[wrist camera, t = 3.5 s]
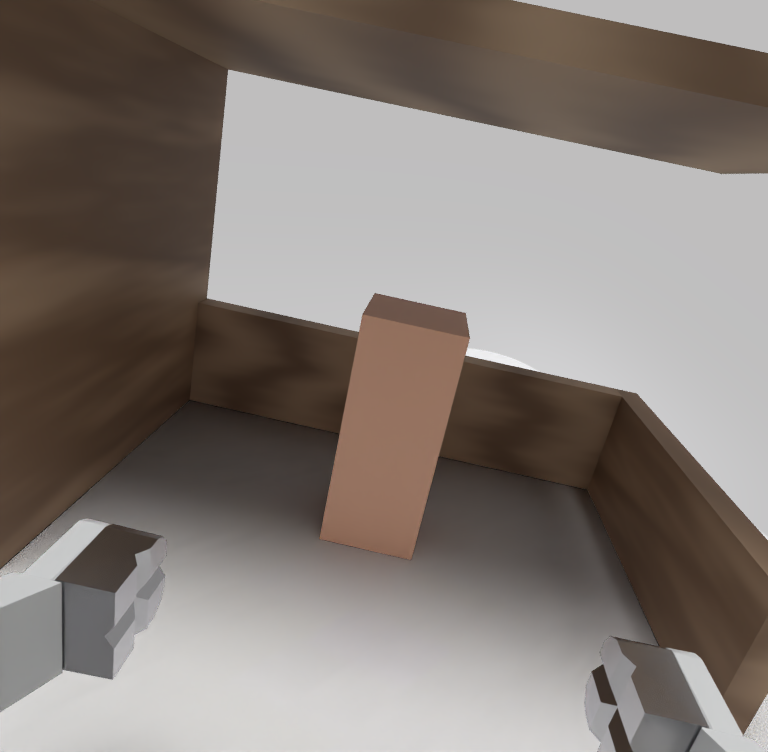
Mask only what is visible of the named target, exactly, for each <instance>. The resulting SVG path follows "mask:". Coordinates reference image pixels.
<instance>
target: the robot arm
mask: <svg viewBox="0 0 768 752" xmlns="http://www.w3.org/2000/svg"><path fill="white" fill-rule="evenodd" d="M166 554H167V540H166V539H165V538H164V537H163V536H159V535H155V534H151V533H147V532H143V531H139V530H135V529H131V528H127V527H123V526H119V525H115V524H109V523H105V522H101V521H97V520H93V519H89V518H85V519H82V520H79V521H78V522H76V523H75V524H74V525H73V526H72V527H71V528H70V529H69V530H68V531H67V532H66V533H65V534H64V535H63V536H62V537H60V538H59V539H58V540H57V541H56V542H55V543H54V544H53V545H52V546H51V547H50V548H49V549H48V550H47V551H45V552H44V553H43V554H42V555H41V556H40V557H39V558H38V559H37V560H36V561H35V562H34V563H33V564H32V565H31V566H29V567H28V568H27V569H26V570H25V571H24V572H23V573H17V572H11V573H9V574H6V575H3V576H0V712H1V711H3V710H4V709H6V708H8V707H9V706H11V705H12V704H14V703H16V702H17V701H19V700H20V699H22V698H23V697H25V696H27V695H28V694H30V693H31V692H33V691H34V690H36V689H38V688H39V687H41V686H42V685H44V684H46V683H47V682H49V681H50V680H52V679H53V678H55V677H57V676H58V675H60V674H61V673H62V670H66V671H71V672H76V673H81V674H86V675H91V676H97V677H102V678H107V679H112V680H113V679H114V677H115V676H116V674H117V673H118V671H119V670H120V668H121V667H122V665H123V663H124V662H125V660H126V659H127V657H128V656H129V654H130V653H131V651H132V650H133V648H134V635H135V634H137V633H139V632H141V631H143V630H145V629H147V627H148V625H149V624H150V622H151V621H152V619H153V617H154V616H155V614H156V611H157V609H158V606H159V604H160V601H161V599H162V594H163V590H164V583H165V575H164V573H163V571H162V570H161V568H160V567H159V565H160V564H161V563H162V561H163V560H164V558H165V557H166ZM600 655H601V659H602V662H603V665H601V666H600V667H598V668H596V669H595V670H593V671H592V672H591V675H590V677H589V680H588V683H587V686H586V694H585V711H586V718H587V722H588V726H589V730H590V731H591V732H592V733H593V734H594V735H595V737H596V738H597V739H598V740H599V741H600V742H601V743H600V746H599V748H598V750H597V752H767V751H766V750H765V749H764V748H763V747H762V746H761V745H759V744H758V743H757V742H756V741H755V740H754V739H751V738H747V737H744V736H743V734H742V732H741V730H740V729H739V727H738V725H737V723H736V721H735V719H734V717H733V716H732V714H731V712H730V710H729V708H728V706H727V705H726V703H725V701H724V699H723V697H722V695H721V694H720V692H719V690H718V688H717V686H716V684H715V682H714V681H713V679H712V677H711V675H710V673H709V671H708V670H707V668H706V666H705V664H704V662H703V660H702V659H701V658H700V657H699V656H698V655H697V654H695V653H692V652H687V651H682V650H677V649H672V648H663V647H659V646H654V645H649V644H645V643H640V642H635V641H631V640H626V639H621V638H617V637H612V636H609V637H608V638H607V639H606V640H605V641H604V643H603V646H602V648H601V650H600Z"/></svg>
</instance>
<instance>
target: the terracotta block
mask: <svg viewBox="0 0 768 752" xmlns="http://www.w3.org/2000/svg"><path fill="white" fill-rule="evenodd" d="M469 339H470V336H469V330H468V324H467V318H466V313H462V312H458V311H454V310H449V309H444V308H440V307H435V306H431V305H426V304H422V303H417V302H412V301H408V300H404V299H399V298H394V297H390V296H385V295H381V294H376V293H375V294H374V295H373V297H372V299H371V301H370V302H369V304H368V306H367V308H366V309H365V311H364V313H363V315H362V320H361V325H360V330H359V336H358V341H357V346H356V351H355V356H354V362H353V367H352V372H351V377H350V382H349V388H348V393H347V398H346V403H345V408H344V414H343V419H342V424H341V429H340V434H339V440H338V445H337V450H336V455H335V460H334V465H333V471H332V476H331V481H330V486H329V491H328V497H327V502H326V507H325V512H324V517H323V523H322V528H321V533H320V538H319V539H322V540H326V541H331V542H335V543H339V544H344V545H348V546H352V547H357V548H361V549H365V550H370V551H374V552H378V553H383V554H387V555H391V556H396V557H400V558H404V559H409V560H411V559H412V555H413V551H414V548H415V544H416V540H417V536H418V532H419V529H420V525H421V521H422V517H423V513H424V510H425V506H426V502H427V498H428V495H429V491H430V487H431V483H432V479H433V476H434V472H435V468H436V464H437V460H438V457H439V453H440V449H441V445H442V442H443V438H444V434H445V430H446V426H447V423H448V419H449V415H450V411H451V407H452V404H453V400H454V396H455V392H456V388H457V385H458V381H459V377H460V373H461V370H462V366H463V362H464V358H465V354H466V351H467V347H468V343H469Z"/></svg>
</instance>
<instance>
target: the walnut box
mask: <svg viewBox="0 0 768 752" xmlns="http://www.w3.org/2000/svg"><path fill="white" fill-rule="evenodd" d="M228 69H229V70H234V71H238V72H243V73H248V74H253V75H257V76H262V77H267V78H271V79H276V80H281V81H285V82H290V83H295V84H300V85H305V86H309V87H314V88H319V89H323V90H328V91H333V92H337V93H343V94H348V95H352V96H357V97H361V98H366V99H371V100H375V101H380V102H385V103H389V104H394V105H399V106H404V107H408V108H413V109H418V110H423V111H427V112H432V113H437V114H442V115H446V116H451V117H456V118H460V119H465V120H470V121H475V122H479V123H484V124H489V125H494V126H498V127H503V128H508V129H513V130H517V131H522V132H527V133H531V134H537V135H541V136H546V137H550V138H555V139H560V140H564V141H569V142H574V143H579V144H583V145H588V146H593V147H598V148H602V149H607V150H612V151H616V152H622V153H626V154H631V155H636V156H641V157H645V158H650V159H654V160H659V161H664V162H669V163H673V164H678V165H683V166H688V167H692V168H697V169H702V170H706V171H711V172H716V173H720V174H735V173H736V174H739V173H741V174H745V173H768V53H764V52H760V51H755V50H750V49H745V48H741V47H736V46H730V45H726V44H721V43H716V42H711V41H707V40H702V39H697V38H692V37H687V36H682V35H677V34H673V33H667V32H663V31H658V30H653V29H648V28H644V27H639V26H634V25H629V24H624V23H619V22H614V21H610V20H605V19H600V18H595V17H590V16H585V15H580V14H575V13H571V12H566V11H561V10H556V9H551V8H547V7H542V6H536V5H532V4H527V3H522V2H517V1H513V0H0V568H1V567H2V566H4V565H5V564H6V563H7V562H8V561H9V560H10V559H11V558H13V557H14V556H15V555H16V554H17V553H18V552H19V551H20V550H22V549H23V548H24V547H25V546H26V545H27V544H28V543H29V542H31V541H32V540H33V539H34V538H35V537H36V536H37V535H38V534H40V533H41V532H42V531H43V530H44V529H45V528H46V527H47V526H49V525H50V524H51V523H52V522H53V521H54V520H55V519H56V518H58V517H59V516H60V515H61V514H62V513H63V512H64V511H65V510H67V509H68V508H69V507H70V506H71V505H72V504H73V503H74V502H76V501H77V500H78V499H79V498H80V497H81V496H82V495H83V494H85V493H86V492H87V491H88V490H89V489H90V488H91V487H92V486H94V485H95V484H96V483H97V482H98V481H99V480H100V479H101V478H103V477H104V476H105V475H106V474H107V473H108V472H109V471H110V470H112V469H113V468H114V467H115V466H116V465H117V464H118V463H119V462H121V461H122V460H123V459H124V458H125V457H126V456H127V455H128V454H130V453H131V452H132V451H133V450H134V449H135V448H136V447H137V446H139V445H140V444H141V443H142V442H143V441H144V440H145V439H146V438H148V437H149V436H150V435H151V434H152V433H153V432H154V431H155V430H157V429H158V428H159V427H160V426H161V425H162V424H163V423H164V422H166V421H167V420H168V419H169V418H170V417H171V416H172V415H173V414H175V413H176V412H177V411H178V410H179V409H180V408H181V407H182V406H184V405H185V404H186V403H187V402H188V401H189V400H192V401H196V402H201V403H205V404H210V405H214V406H219V407H223V408H227V409H232V410H236V411H241V412H245V413H250V414H254V415H258V416H263V417H267V418H272V419H276V420H281V421H285V422H289V423H294V424H298V425H303V426H307V427H312V428H316V429H320V430H325V431H329V432H334V433H338V434H340V429H341V424H342V419H343V414H344V408H345V403H346V398H347V393H348V388H349V382H350V377H351V372H352V367H353V362H354V356H355V351H356V346H357V341H358V336H359V332H356V331H351V330H347V329H342V328H337V327H333V326H329V325H324V324H320V323H315V322H311V321H306V320H302V319H297V318H293V317H288V316H283V315H279V314H275V313H270V312H266V311H261V310H257V309H252V308H247V307H243V306H239V305H234V304H230V303H224V302H221V301H216V300H211V299H207V289H208V279H209V268H210V257H211V247H212V235H213V225H214V213H215V203H216V193H217V182H218V171H219V160H220V150H221V139H222V128H223V118H224V107H225V96H226V85H227V75H228ZM439 456H440V457H444V458H449V459H453V460H458V461H462V462H467V463H471V464H475V465H480V466H484V467H489V468H493V469H498V470H502V471H506V472H511V473H515V474H520V475H524V476H529V477H533V478H537V479H542V480H546V481H551V482H555V483H560V484H564V485H568V486H573V487H577V488H582V489H586V490H588V492H589V495H590V497H591V499H592V501H593V503H594V505H595V508H596V510H597V512H598V514H599V516H600V518H601V521H602V523H603V525H604V527H605V529H606V531H607V534H608V536H609V538H610V540H611V542H612V544H613V547H614V549H615V551H616V553H617V555H618V557H619V560H620V562H621V564H622V566H623V568H624V570H625V573H626V575H627V577H628V579H629V581H630V583H631V586H632V588H633V590H634V592H635V594H636V596H637V599H638V601H639V603H640V605H641V607H642V609H643V612H644V614H645V616H646V618H647V620H648V622H649V625H650V627H651V629H652V631H653V633H654V635H655V638H656V640H657V642H658V644H659V646H660V647H663V648H672V649H677V650H682V651H687V652H692V653H695V654H697V655H698V656H699V657H700V658H701V659H702V660H703V662H704V664H705V666H706V668H707V670H708V671H709V673H710V675H711V677H712V679H713V681H714V682H715V684H716V686H717V688H718V690H719V692H720V694H721V695H722V697H723V699H724V701H725V703H726V705H727V706H728V708H729V710H730V712H731V714H732V716H733V717H734V719H735V721H736V723H737V725H738V727H739V729H740V730H741V732H742V734H744V733H745V731H746V729H747V728H748V726H749V724H750V723H751V721H752V719H753V717H754V716H755V714H756V712H757V711H758V709H759V707H760V705H761V704H762V702H763V700H764V699H765V697H766V695H767V694H768V540H767V539H766V538H765V537H764V536H763V535H762V534H761V532H760V531H759V530H758V529H757V528H756V527H755V526H754V525H753V524H752V522H751V521H750V520H749V519H748V518H747V517H746V516H745V514H744V513H743V512H742V511H741V510H740V509H739V508H738V507H737V506H736V504H735V503H734V502H733V501H732V500H731V499H730V498H729V497H728V496H727V495H726V493H725V492H724V491H723V490H722V489H721V488H720V486H719V485H718V484H717V483H716V482H715V481H714V480H713V479H712V477H711V476H710V475H709V474H708V473H707V472H706V471H705V470H704V469H703V467H702V466H701V465H700V464H699V463H698V462H697V461H696V460H695V458H694V457H693V456H692V455H691V454H690V453H689V452H688V451H687V450H686V448H685V447H684V446H683V445H682V444H681V443H680V442H679V440H678V439H677V438H676V437H675V436H674V435H673V434H672V433H671V431H670V430H669V429H668V428H667V427H666V426H665V425H664V424H663V423H662V421H661V420H660V419H659V418H658V417H657V416H656V415H655V414H654V412H653V411H652V410H651V409H650V408H649V407H648V406H647V405H646V404H645V402H644V401H643V400H642V399H641V398H640V397H639V396H638V394H636V393H632V392H627V391H623V390H618V389H614V388H609V387H605V386H600V385H595V384H591V383H586V382H581V381H577V380H573V379H568V378H564V377H559V376H554V375H550V374H546V373H541V372H537V371H532V370H528V369H523V368H519V367H514V366H510V365H505V364H501V363H496V362H492V361H487V360H483V359H478V358H474V357H469V356H465V358H464V362H463V366H462V370H461V373H460V377H459V381H458V385H457V388H456V392H455V396H454V400H453V404H452V407H451V411H450V415H449V419H448V423H447V426H446V430H445V434H444V438H443V442H442V445H441V449H440V453H439Z"/></svg>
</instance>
